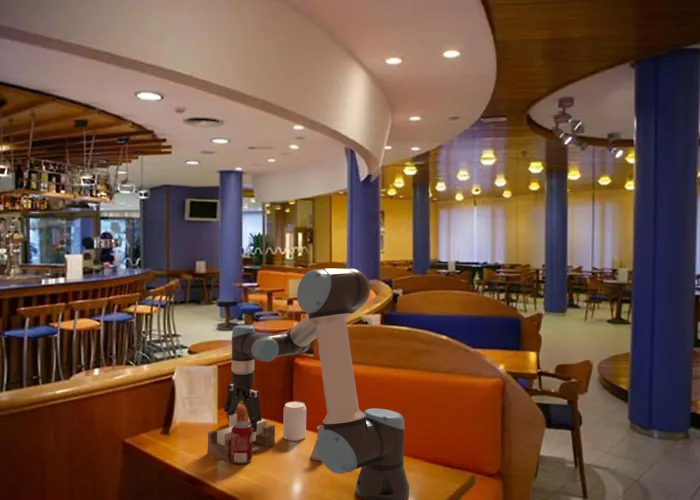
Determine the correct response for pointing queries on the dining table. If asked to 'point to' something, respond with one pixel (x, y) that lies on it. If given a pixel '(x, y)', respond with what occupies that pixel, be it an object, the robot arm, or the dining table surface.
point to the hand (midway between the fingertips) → (242, 437)
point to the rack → (224, 452)
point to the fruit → (241, 412)
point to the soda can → (241, 442)
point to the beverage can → (294, 421)
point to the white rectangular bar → (226, 432)
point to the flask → (315, 451)
